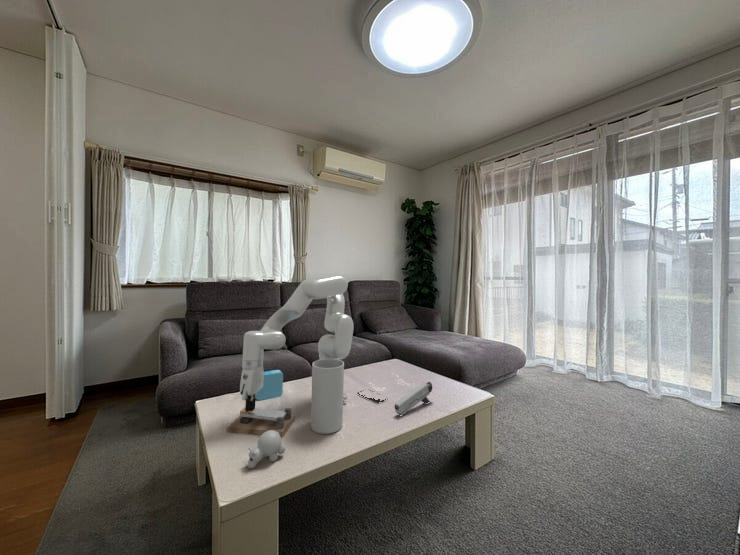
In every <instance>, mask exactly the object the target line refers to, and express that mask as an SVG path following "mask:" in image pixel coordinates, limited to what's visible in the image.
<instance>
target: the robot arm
mask: <svg viewBox="0 0 740 555" xmlns="http://www.w3.org/2000/svg"><path fill="white" fill-rule="evenodd" d="M348 285H349V284H348V280H347V279H346V278H345V277H344V276H342V275H341V276H340V275H325V276H324V275H323V276H322V277H320V279H319V278H318V279H311V278H310V279H304V280H303V281H301V282H300V284H299V285H298V286H297V288H296V289H295V290H294V292H293V293H292V294H291V296H290V297H289V298H288V300H287V301H286V302H285V304H284V305H283V306H281V307H280V308H279V309H278V310H277V311H275V312H274V313H273V314H272V316H270V317H269V318H268V320H267V321H266V322H265V323H264V325H263V326H262V328H261V329H260V330H249V331H247V332H245V333H244V334H243V343H242V344H243V347H242V348H243V349H242V362H241V363H242V365H241V368H242V369H241V375H240V376H241V377H240V382H239V383H240V384H239V394H240V395H241V396H242V397H241V400H244V401H245V405H244V406H245V407H244V408H245V410H246V411H253V410H254V409H255V408H256V400H257V398H256V396H257V392H258V391H259V390H260V389H262V388H263V383H264V372H265V371H264V365H263V364H264V350H279V349H281V348H282V347H284V345H285V344H286V340H287V339H286V338H287V337H286V335H285V334H284V333H283V332H282V331H281V330H282V329H283V327H285V326H286V325H287V324H288V323H289V322H291V321H293V320H296V319H298V318H301V316H302V315H303V314H304V313H305V311H306V310H307V308H308V307H309V306H310V304H311V302H312V301H313V300H322V299H323V300H324V299H326V303H327V304H326V312H325V317H324V324H323V325H324V328H325V330H326V331H328V332H331V333H334V334H329V333H327V334H324V335H322V336H321V337H320V339H319V341H318V344H317V350H318V351H317V352H318V355H319V358H318V360H321V359H337V360H344V359H346V358H347V357H348V356H349V354H350V352H351V348H352V343H353V342H352V341H353V336H354V335H353V334H354V330H355V329H354V327H355V326H354V321H353V319H352V317H351V315H348V314H345V302H346V301H345V300H346V299H345V296H344V293H345V292H346V291H347V289H348V287H349V286H348ZM348 398H349V397H348V395H347V393H344V392H343V401H344V400H348Z"/></svg>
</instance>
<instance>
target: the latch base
mask: <svg viewBox="0 0 740 555" xmlns="http://www.w3.org/2000/svg"><path fill="white" fill-rule="evenodd" d="M292 410H293V409H292V408H288V407H285V408H284V412H287V415H286V417H285V418H284V417H277V421H274V420H266V419H258V418H250V417H242V416H240V415H239V416H238V417H236V418H235V419H234V420H233V421H232V422H230V423H229V424H227V426H226V428H225V429H226V433H229V432H230V433H232V434H240V433H241V434H243V435H251V434H252V435H254V436H261V435H262V434H263V433H264V432H266V431H269V430H274V431H276V432H279V435H280V437H281V438H283V437H284V436H285V434H286V433H287V432H288V431H289V429H290V428H291V427H292V425H293V424H294V423H295V421H296V416H295V415H292ZM241 434H240V435H241Z"/></svg>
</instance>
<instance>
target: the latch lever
mask: <svg viewBox="0 0 740 555" xmlns="http://www.w3.org/2000/svg"><path fill="white" fill-rule="evenodd" d="M286 415H287V412H285V411H280V410H273V409H265V408H256V407H255V409H254V410H253V411H246V410H245V407H244V408H242V409H241V410H240V411H239V416H242V417H250V418H258V419H266V420H274V421H277V417H284V418H285V417H286Z"/></svg>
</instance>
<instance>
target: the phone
mask: <svg viewBox="0 0 740 555" xmlns="http://www.w3.org/2000/svg"><path fill="white" fill-rule="evenodd" d="M364 390H365V389H363V390H361V391H358V392H357V393H356V394H359V392H362V391H364ZM369 390H370V389H369ZM370 391H372V390H370ZM372 392H374V391H372ZM378 394H379V393H378ZM359 395H360V394H359ZM379 395H381V394H379ZM361 396H363V395H361ZM364 396H365V395H364ZM364 396H363V397H364ZM363 397H362V398H363ZM365 398H367V397H365ZM365 398H364V399H365ZM367 399H369V400H371V401H373V402H375V403H379V402H382V403H383V401H384V400H382V401H380V399H378V400H375V399H374V398H373V399H372V398H367ZM367 399H366V400H367ZM369 400H368V401H369ZM385 400H386V399H385ZM371 401H370V402H371ZM373 402H372V403H373ZM384 402H385V401H384ZM375 403H374V404H375Z"/></svg>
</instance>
